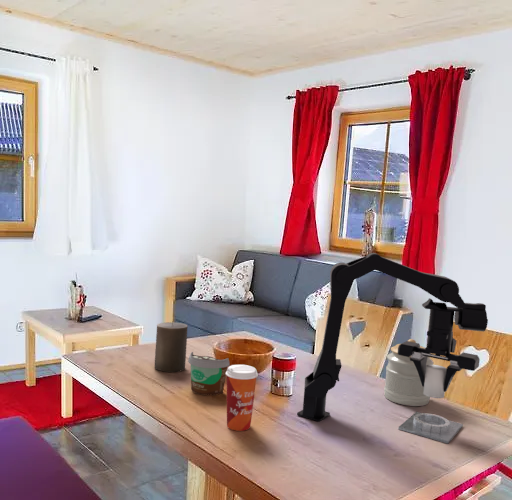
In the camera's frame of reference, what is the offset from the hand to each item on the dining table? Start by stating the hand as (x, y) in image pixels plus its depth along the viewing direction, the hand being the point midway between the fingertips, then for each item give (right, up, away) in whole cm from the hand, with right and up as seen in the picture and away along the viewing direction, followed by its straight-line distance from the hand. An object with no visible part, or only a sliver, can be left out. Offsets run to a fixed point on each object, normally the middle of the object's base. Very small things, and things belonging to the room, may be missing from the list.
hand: (434, 388), depth 135 cm
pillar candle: (-72, -3, +36) cm, 80 cm away
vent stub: (0, -2, 0) cm, 2 cm away
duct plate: (-1, -10, +1) cm, 10 cm away
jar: (-1, -9, +22) cm, 23 cm away
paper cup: (-49, -7, -7) cm, 50 cm away
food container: (-59, -5, +15) cm, 62 cm away
